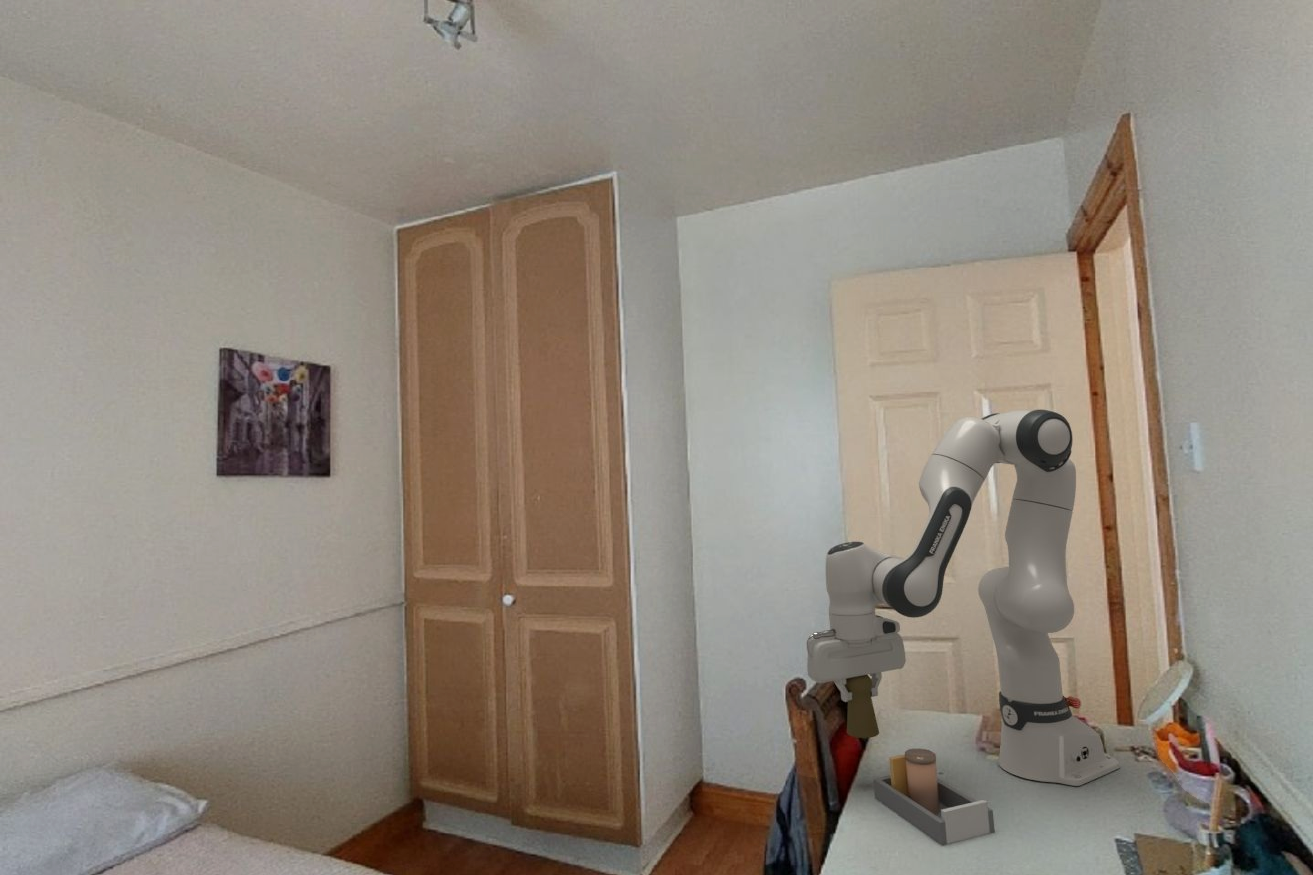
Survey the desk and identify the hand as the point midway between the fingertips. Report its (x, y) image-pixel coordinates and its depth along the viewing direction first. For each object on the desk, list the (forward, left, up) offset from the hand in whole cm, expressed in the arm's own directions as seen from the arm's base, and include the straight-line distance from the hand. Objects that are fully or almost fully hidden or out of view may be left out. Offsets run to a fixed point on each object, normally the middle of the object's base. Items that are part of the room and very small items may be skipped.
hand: (859, 698), depth 134 cm
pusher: (-4, +9, -17) cm, 20 cm away
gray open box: (-4, +14, -17) cm, 22 cm away
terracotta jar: (-4, +12, -17) cm, 21 cm away
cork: (0, 0, -7) cm, 7 cm away
